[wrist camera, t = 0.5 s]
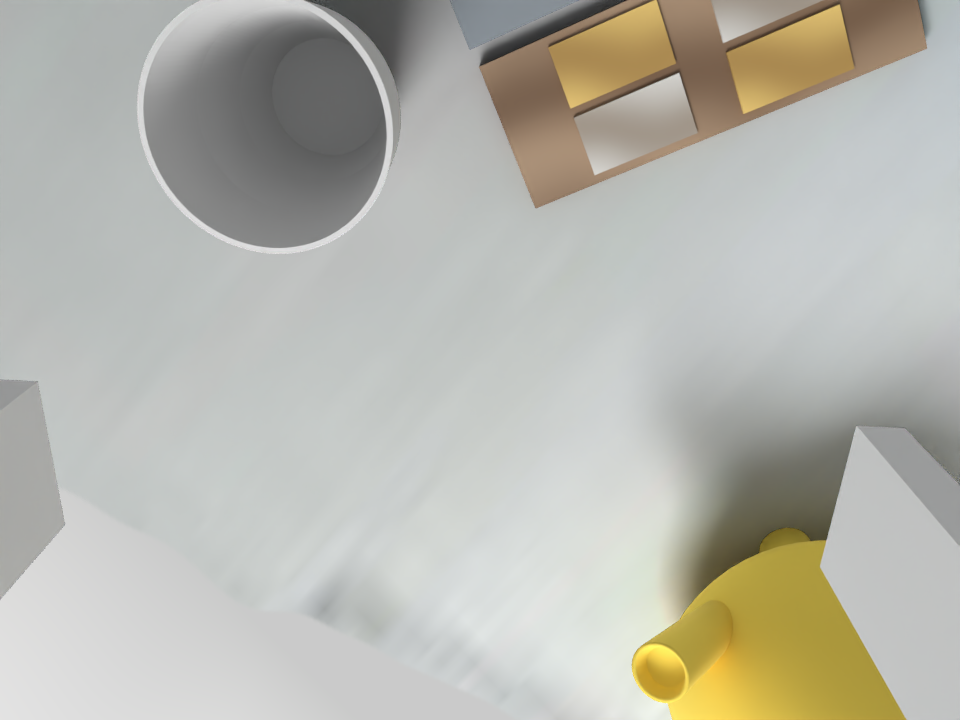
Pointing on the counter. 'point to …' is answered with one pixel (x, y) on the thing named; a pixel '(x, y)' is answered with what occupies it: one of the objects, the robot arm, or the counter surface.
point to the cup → (268, 121)
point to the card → (678, 77)
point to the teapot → (766, 646)
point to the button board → (499, 16)
